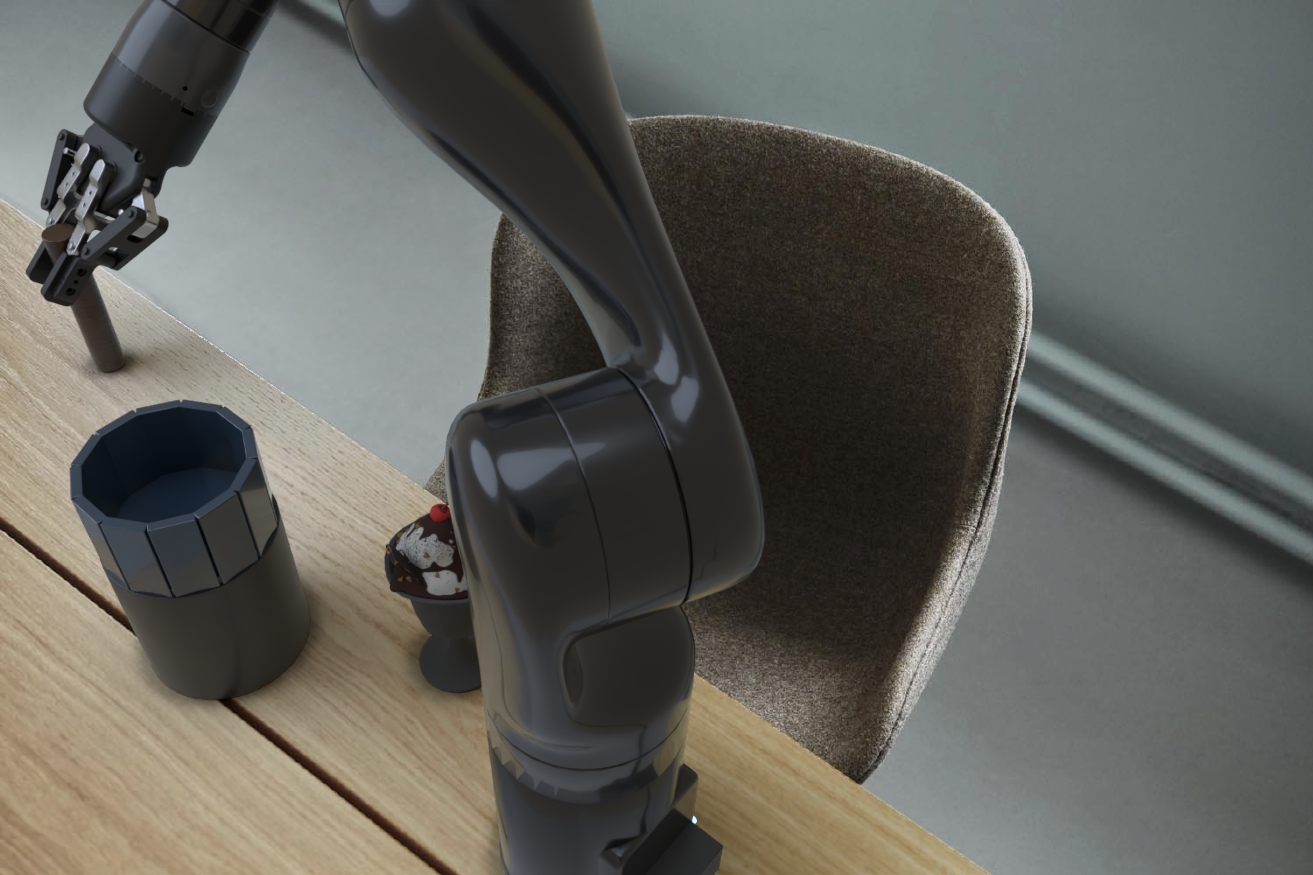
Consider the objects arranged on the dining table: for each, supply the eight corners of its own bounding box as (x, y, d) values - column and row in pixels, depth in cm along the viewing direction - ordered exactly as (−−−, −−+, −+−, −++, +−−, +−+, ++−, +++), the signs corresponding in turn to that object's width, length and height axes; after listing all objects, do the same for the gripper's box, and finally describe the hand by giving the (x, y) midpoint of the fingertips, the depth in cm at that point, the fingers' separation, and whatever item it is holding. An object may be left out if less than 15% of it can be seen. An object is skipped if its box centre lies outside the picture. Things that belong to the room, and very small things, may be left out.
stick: (131, 361, 87) (81, 231, 79) (105, 376, 86) (52, 245, 78) (115, 348, 88) (64, 219, 80) (89, 363, 87) (34, 232, 78)
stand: (342, 625, 72) (315, 522, 64) (211, 730, 66) (166, 630, 59) (246, 546, 76) (211, 441, 68) (116, 638, 70) (62, 534, 63)
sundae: (523, 617, 73) (512, 456, 62) (503, 710, 68) (487, 553, 57) (420, 606, 73) (391, 443, 62) (393, 698, 68) (356, 539, 57)
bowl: (310, 523, 64) (292, 456, 61) (167, 625, 59) (137, 560, 55) (210, 444, 68) (187, 376, 64) (68, 534, 63) (33, 467, 59)
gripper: (77, 14, 78) (-41, 227, 81) (165, 98, 71) (32, 328, 74) (172, 64, 84) (59, 260, 87) (261, 145, 77) (136, 356, 80)
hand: (48, 290), depth 81 cm, fingers closed on stick, 2 cm apart
